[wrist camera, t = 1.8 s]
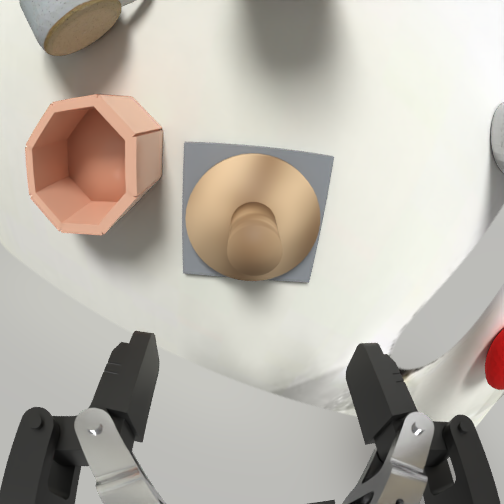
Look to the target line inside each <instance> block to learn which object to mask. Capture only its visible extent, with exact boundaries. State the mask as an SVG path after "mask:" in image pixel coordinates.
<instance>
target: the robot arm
mask: <svg viewBox="0 0 504 504" xmlns="http://www.w3.org/2000/svg"><path fill="white" fill-rule="evenodd" d="M491 144H492V150H493V154H494V158H495V161H496V163H497V165H498V167H499V169H500V170H501V171H502V172H503V173H504V102H503V103H501V104H500V105H499V106H498V108H497V110H496V111H495V114H494V117H493V121H492V127H491ZM158 372H159V356H158V350H157V345H156V339H155V335H154V333H147V332H140V331H135V332H134V333H133V335H132V338H131V340H130V343H123V342H121V343H120V344H119V345H118V346H117V347H116V348H115V349H114V350H113V351H112V353H111V355H110V358H109V361H108V364H107V365H106V367H105V370H104V372H103V375H102V377H101V380H100V382H99V385H98V388H97V390H96V393H95V396H94V398H93V401H92V403H91V405H90V407H89V408H88V409H85V410H84V411H82V412H81V413H79V414H78V415H77V416H52V415H51V414H50V413H49V412H48V411H47V410H46V409H44V408H40V407H34V408H31V409H29V410H28V411H26V412H25V413H24V415H23V417H22V419H21V422H20V425H19V427H18V430H17V433H16V436H15V439H14V442H13V445H12V448H11V452H10V455H9V458H8V462H7V466H6V469H5V473H4V477H3V481H2V485H1V490H0V504H75V498H76V492H77V485H78V480H79V475H80V470H81V466H90V468H91V470H92V472H93V475H94V477H95V479H96V482H97V483H96V489H97V492H98V494H99V496H100V498H101V500H102V501H103V503H104V504H166V503H165V502H164V500H163V499H162V498H161V496H160V495H159V493H158V492H157V491H156V489H155V488H154V486H153V485H152V483H151V482H150V480H149V479H148V477H147V476H146V474H145V473H144V471H143V469H142V468H141V466H140V464H139V462H138V461H137V459H136V457H135V455H134V454H133V452H132V448H133V443H134V441H138V442H143V438H144V433H145V428H146V423H147V419H148V415H149V410H150V406H151V401H152V397H153V393H154V389H155V384H156V381H157V377H158ZM346 381H347V384H348V387H349V390H350V394H351V397H352V400H353V404H354V407H355V410H356V414H357V417H358V420H359V424H360V427H361V431H362V434H363V438H364V441H365V444H372V443H375V444H376V448H375V449H374V452H373V453H372V456H371V458H370V460H369V462H368V464H367V466H366V468H365V470H364V472H363V474H362V476H361V478H360V480H359V482H358V483H357V485H356V487H355V488H354V489H353V490H352V491H351V492H350V494H349V495H348V496H347V497H346V499H345V500H344V502H343V504H420V501H421V498H422V496H424V500H425V504H500V500H499V497H498V493H497V489H496V486H495V482H494V479H493V476H492V472H491V469H490V467H489V463H488V461H487V458H486V455H485V452H484V450H483V447H482V444H481V441H480V439H479V437H478V434H477V431H476V429H475V426H474V424H473V422H472V421H471V419H470V418H468V417H467V416H465V415H457V416H455V417H454V418H453V419H452V420H451V421H450V422H435V421H432V420H431V418H430V417H429V416H428V415H426V414H424V413H422V412H418V411H417V409H416V407H415V404H414V402H413V400H412V397H411V395H410V393H409V391H408V389H407V386H406V384H405V382H403V381H404V380H403V378H402V376H401V374H400V371H399V369H398V367H397V365H396V363H395V362H394V361H393V360H392V359H391V358H390V357H389V356H388V355H387V354H383V352H382V350H381V348H380V346H379V344H378V343H362V344H359V345H358V346H357V348H356V350H355V352H354V354H353V357H352V359H351V361H350V363H349V365H348V367H347V370H346ZM449 457H450V458H451V461H452V465H453V468H454V471H455V475H456V481H455V484H454V482H453V478H452V475H451V471H450V468H449V465H448V461H447V459H448V458H449ZM310 504H335V501H334V500H330V501H323V502H317V503H310Z"/></svg>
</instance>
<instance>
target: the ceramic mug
mask: <svg viewBox="0 0 504 504" xmlns="http://www.w3.org/2000/svg"><path fill="white" fill-rule="evenodd" d="M19 1H20V6H21V8H22V10H23V12H24V15H25V17H26V19H27V21H28V23H29V25H30V27H31V29H32V31H33V33H34V35H35V37H36V39H37V41H38V43H39V44H40V46H41V47H42V48H43V49H44V50H45V51H46V52H47V53H48V54H50V55H53V56H63V55H68V54H71V53H74V52H76V51H79V50H81V49H83V48H85V47H87V46H89V45H90V44H92V43H93V42H95V41H96V40H98V39H99V38H100V37H102V36H103V35H104V34H105V33H106V32H107V31H108V30H109V29H110V28H111V27H112V26H113V25H114V24H115V22H116V21H117V19H118V18H119V15H120V13H121V7H122V6H124V5H127V4H130V3H132V2H134V1H135V0H19Z"/></svg>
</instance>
